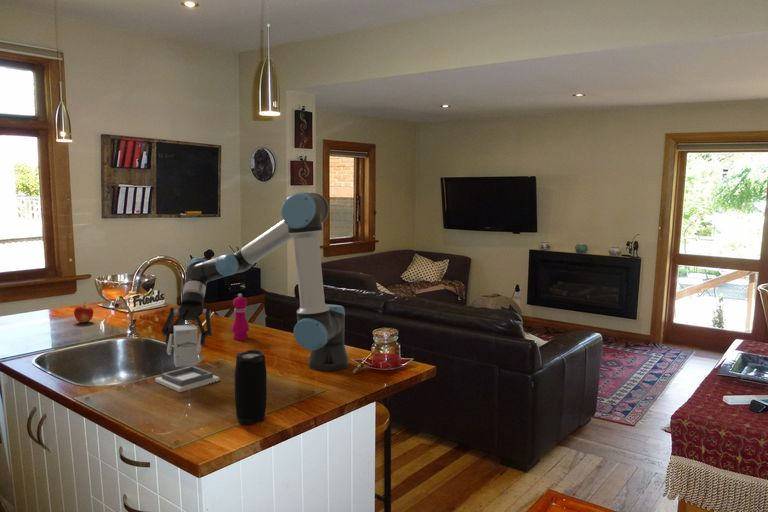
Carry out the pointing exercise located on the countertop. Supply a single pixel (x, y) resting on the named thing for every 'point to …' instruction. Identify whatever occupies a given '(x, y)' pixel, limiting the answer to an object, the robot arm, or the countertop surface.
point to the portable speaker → (250, 386)
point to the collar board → (186, 378)
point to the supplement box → (185, 345)
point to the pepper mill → (240, 319)
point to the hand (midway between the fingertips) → (183, 352)
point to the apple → (83, 313)
